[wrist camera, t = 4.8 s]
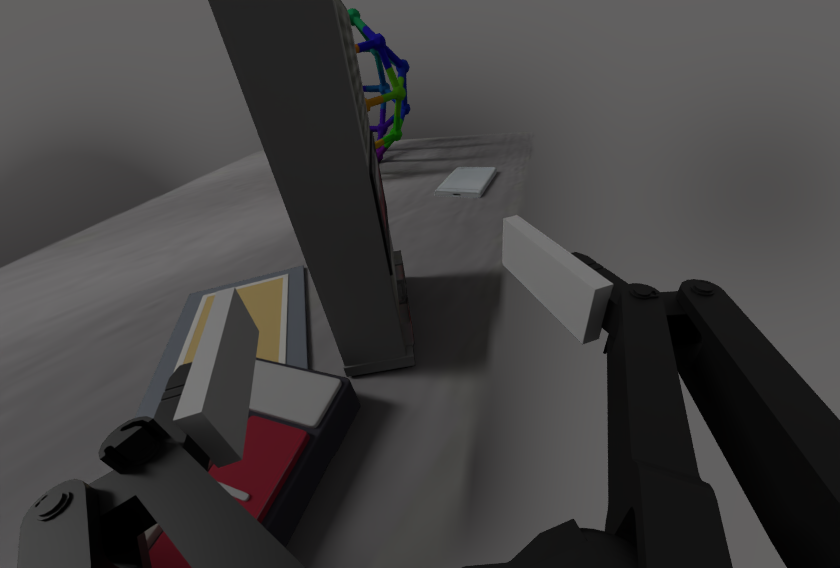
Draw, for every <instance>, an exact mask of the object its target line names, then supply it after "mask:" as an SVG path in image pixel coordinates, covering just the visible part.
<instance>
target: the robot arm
mask: <svg viewBox="0 0 840 568" xmlns="http://www.w3.org/2000/svg"><path fill="white" fill-rule="evenodd" d="M502 264H503V265H504V266H505V267H506V268H507V269H508V270H509V271H510V272H511V273H512V274H513V275H514V276H515V277H516V278H517V279H518V280H519V281H520V282H521V283H522V284H523V285H524V286H525V287H526V288H527V289H528V290H529V291H530V292H531V293H532V294H533V295H534V296H535V297H536V298H537V299H538V300H539V301H540V302H541V303H542V304H543V305H544V306H545V307H546V308H547V309H548V310H549V311H550V312H551V313H552V314H553V315H554V316H555V317H556V318H557V319H558V320H559V321H560V322H561V323H562V324H563V325H564V326H565V327H566V328H567V329H568V330H569V331H570V332H571V333H572V334H573V335H574V336H575V337H576V338H577V339H578V340H579V341H580V342H581V343H582V344H585V343H588V342H591V341H594V340H597V339H599V335H600V332H601V329H602V328H603V329H604V330H605V331H607V332H608V333H609V335H608V338H607V342H606V345H605V349H604V352H603V353H604V354H606V353H607V384H608V385H607V390H608V391H607V392H608V496H609V497H608V502H609V503H608V512H607V518H606V524H605V531H600V530H596V529H588V528H579V527H578V525H577V524H576V522H575V520H574V519H571V520H569V521H567V522H565V523H562V524H560V525H558V526H556V527H553V528H551V529H549V530H546V531H544V532H542V533H540V534H539V535H538V536H537V537H536V538H534V539H533V540H532V541H531V542H530V543H529V544H528V545H527V546H526V547H525V548H524V549H523V550H522V551H521V552H520V553H518V554H517V555H516V556H515V557H514V558H513V559H512V560H511V561H509V562H507V563H499V564H487V565H475V566H465V567H462V568H733V567H732V563H731V559H730V554H729V550H728V546H727V542H726V537H725V533H724V529H723V524H722V520H721V516H720V511H719V507H718V503H717V499H716V496H715V493H714V490H713V489H712V487H711V486H710V484H708V483H706V482H703V481H702V480H701V478H700V476H699V473H698V468H697V463H696V458H695V453H694V448H693V444H692V438H691V434H690V429H689V424H688V420H687V414H686V410H685V404H684V400H683V395H682V390H681V385H680V380H679V375H678V373H679V374H680V376H681V378H682V380H683V381H684V384H685V385H686V387H687V389H688V391H689V393H690V394H691V396H692V398H693V400H694V402H695V404H696V405H697V407H698V409H699V411H700V413H701V415H702V416H703V418H704V420H705V422H706V424H707V425H708V427H709V429H710V431H711V433H712V435H713V436H714V438H715V440H716V442H717V444H718V446H719V447H720V449H721V451H722V453H723V455H724V456H725V458H726V460H727V462H728V464H729V466H730V467H731V469H732V471H733V473H734V475H735V476H736V478H737V480H738V482H739V484H740V486H741V487H742V489H743V491H744V493H745V495H746V496H747V498H748V500H749V502H750V504H751V506H752V507H753V509H754V511H755V513H756V515H757V516H758V518H759V520H760V522H761V524H762V526H763V527H764V529H765V531H766V533H767V535H768V536H769V538H770V540H771V542H772V544H773V545H774V547H775V549H776V550H777V552H778V554H779V555H780V557H781V559H782V560H783V562H784V563H785V565H786V567H787V568H840V420H839V419H838V418H837V417H836V416H835V415H834V413H833V412H832V411H831V410H830V409H829V408H828V406H826V404H825V403H824V402H823V401H822V400H821V399H820V398H819V396H818V395H817V394H816V393H815V392H814V391H813V390H812V389H811V387H810V386H809V385H808V384H807V383H806V382H805V381H804V380H803V379H802V378H801V376H800V375H799V374H798V373H797V372H796V371H795V370H794V368H793V367H792V366H791V365H790V364H789V363H788V362H787V361H786V360H785V359H784V357H783V356H782V355H781V354H780V353H779V352H778V351H777V350H776V349H775V347H774V346H773V345H772V344H771V343H770V342H769V341H768V339H767V338H766V337H765V336H764V335H763V334H762V333H761V332H760V330H759V329H758V328H757V327H756V326H755V325H754V324H753V323H752V322H751V321H750V319H749V318H748V317H747V316H746V315H745V314H744V313H743V311H742V310H741V309H740V308H739V307H738V306H737V305H736V304H735V303H734V301H733V300H732V299H731V298H730V297H729V296H728V295H727V294H726V292H725V291H724V290H722V289H721V288H720V287H719V286H717V285H715V284H713V283H711V282H708V281H704V280H695V279H693V280H686V281H684V282H682V284H681V286H680V288H679V290H678V291H675V292H659V291H658V290H656V289H655V288H653V287H651V286H648V285H644V284H637V283H635V284H634V283H632V284H628V283H626V282H625V281H623V280H622V279H620V278H619V277H617V276H616V275H615V274H613V273H612V272H610V271H609V270H607V269H606V268H603V266H601V265H600V264H598V263H596V262H595V261H594V260H593V259H591V258H590V257H588V256H586V255H583V254H580V253H577V252H574V253H569V252H568V251H567V250H565V249H564V248H562V247H561V246H559V245H558V244H557V243H555V242H554V241H553V240H551V239H550V238H548V237H547V236H546V235H544V234H543V233H541V232H540V231H538V230H537V229H536V228H534V227H533V226H531V225H530V224H529V223H527V222H526V221H524V220H523V219H522V218H520V217H519V216H518V215H515V216H511V217H508V218H504V219H503V251H502ZM258 338H259V330H258V328H257V326H256V325H255V323H254V321H253V319H252V317H251V316H250V314H249V312H248V310H247V308H246V306H245V305H244V303H243V301H242V299H241V297H240V295H239V294H238V292H237V290H236V288H235V287H232V288H228V289H224V290H220V291H217V292H216V295H215V298H214V300H213V303H212V306H211V309H210V312H209V315H208V318H207V321H206V324H205V327H204V330H203V333H202V336H201V339H200V342H199V345H198V348H197V351H196V354H195V357H194V359H193V362H190V363H187V364H183V365H180V366H179V367H178V368H177V369H176V370H175V372H174V373H173V374H172V375H171V376H170V378H169V380H168V382H167V385H166V387H165V392H164V393H163V395H162V398H161V402H160V403H159V405H158V408H157V410H156V413H155V415H154V418H151V417H148V416H143V417H137V418H134V419H132V420H129V421H127V422H126V423H124V424H122V425H121V426H119V427H118V428H117V429H115V430H114V431H113V432H112V433H111V434H110V435H109V436H108V437H107V438H106V440H105V441H104V442H103V443H102V445H101V448H100V450H99V457H100V460H102V461H103V462H104V463H106V464H107V465H108V466H110V467H111V468H112V469H114V470H113V471H111V472H110V473H108V474H106V475H104V476H103V477H101V478H99V479H97V480H95V481H94V482H92V483H90V484H86V483H85V482H83V481H81V480H77V479H73V480H69V481H65V482H63V483H61V484H59V485H57V486H55V487H53V488H52V489H50V490H49V491H48V492H46V493H45V494H44V495H42V496H41V497H40V498H39V499H38V500H37V501H36V502H35V503H34V504H33V505H32V506H31V507H30V509H29V510H28V512H27V513H26V515H25V516H24V518H23V521H22V524H21V527H20V538H19V551H18V563H17V568H152V565H151V560H150V555H149V551H148V546H147V541H146V536H145V531H146V530H148V529H149V528H151V527H152V526H154V525H155V524H157V523H158V524H159V526H160V527H161V528H162V529H163V531H164V532H165V533H166V535H167V536H168V537H169V539H170V540H171V541H172V542H173V544H174V545H175V546H176V548H177V549H178V550H179V552H180V553H181V554H182V556H183V557H184V558H185V559H186V561H187V562H188V563H189V565H190V566H191V567H192V568H305V567H304V566H303V565H302V564H301V563H300V562H299V561H298V560H297V559H296V558H295V557H294V556H293V555H292V554H291V553H290V552H289V551H288V550H287V549H286V548H285V547H284V546H283V545H282V544H281V543H280V542H279V541H278V540H277V539H276V538H275V537H274V536H273V535H272V534H271V533H270V532H269V531H267V530H266V529H265V528H264V527H263V526H262V525H261V524H260V523H259V522H258V521H257V520H256V519H255V518H254V517H253V516H252V515H251V514H250V513H249V512H248V511H247V510H246V509H245V508H244V507H243V506H242V505H241V504H240V503H239V502H238V501H237V500H236V499H235V498H234V497H233V496H232V495H231V494H230V493H229V492H228V491H227V490H225V489H224V488H223V487H222V486H221V485H220V484H219V483H218V482H217V481H216V480H215V479H214V478H213V477H212V476H211V475H210V474H209V473H208V472H207V471H208V466H209V461H210V460H211V461H212V462H213V463H214V464H215V465H216V466H217V467H218V468H220V467H223V466H226V465H229V464H232V463H235V462H238V461H241V460H242V458H243V451H244V443H245V436H246V428H247V421H248V413H249V406H250V398H251V391H252V383H253V376H254V368H255V361H256V353H257V346H258Z"/></svg>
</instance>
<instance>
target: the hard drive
mask: <svg viewBox="0 0 840 568" xmlns="http://www.w3.org/2000/svg"><path fill="white" fill-rule="evenodd" d="M496 173H497V169H496V168H495V167H457V168H456V169H455V170H454V171H453V172H452V173H451V174H450V175H449V176H448V177H447V179H446V180H445V181H444V182H443V183H442V184H441V185H440V186H439V187H438V188H437V189H436V191H435V196H447V197H469V198H480V197H481V196H482V194H483V193H484V191H485V190H486V188H487V187H488V185H489V184H490V182H491V181H492V179H493V178H494V176H495V175H496Z"/></svg>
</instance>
